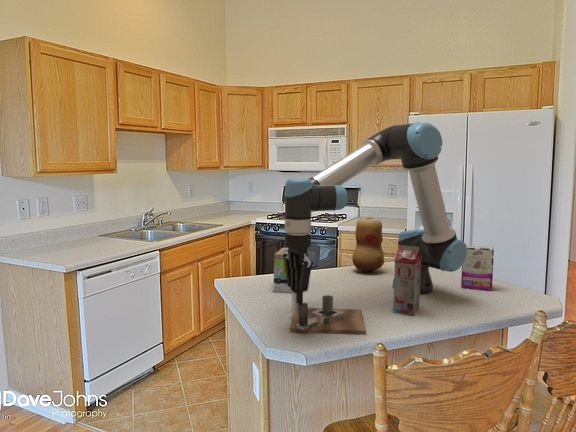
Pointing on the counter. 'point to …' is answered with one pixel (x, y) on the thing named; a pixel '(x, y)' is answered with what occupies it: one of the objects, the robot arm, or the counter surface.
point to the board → (347, 325)
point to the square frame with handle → (315, 317)
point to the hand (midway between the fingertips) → (297, 312)
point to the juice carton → (407, 280)
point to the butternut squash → (368, 245)
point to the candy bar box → (478, 268)
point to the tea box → (280, 272)
